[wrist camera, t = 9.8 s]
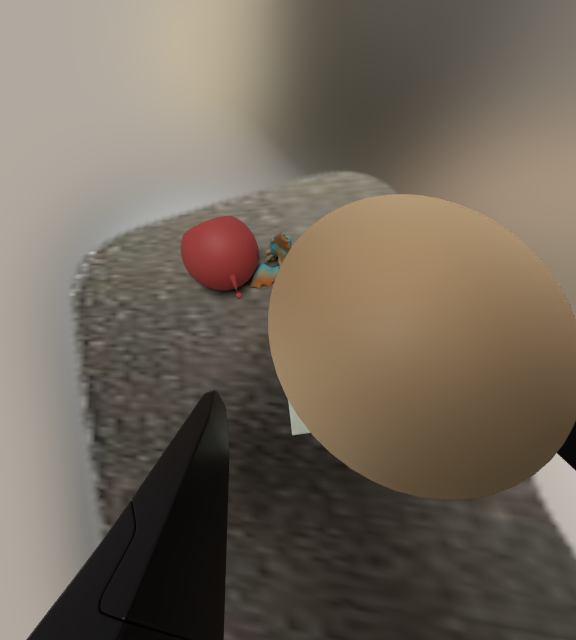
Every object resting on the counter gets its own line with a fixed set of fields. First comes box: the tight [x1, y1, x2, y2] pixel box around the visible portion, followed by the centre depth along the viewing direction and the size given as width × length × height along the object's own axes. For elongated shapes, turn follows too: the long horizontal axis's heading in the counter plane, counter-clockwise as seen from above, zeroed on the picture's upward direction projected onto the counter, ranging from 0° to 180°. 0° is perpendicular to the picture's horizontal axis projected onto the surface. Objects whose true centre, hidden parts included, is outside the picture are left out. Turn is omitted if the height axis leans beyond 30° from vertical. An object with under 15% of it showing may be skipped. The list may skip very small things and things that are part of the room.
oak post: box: [268, 194, 576, 500], centre depth 9 cm, size 4×4×13 cm
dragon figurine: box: [250, 232, 292, 289], centre depth 20 cm, size 7×7×8 cm
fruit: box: [181, 216, 258, 299], centre depth 18 cm, size 6×6×8 cm
